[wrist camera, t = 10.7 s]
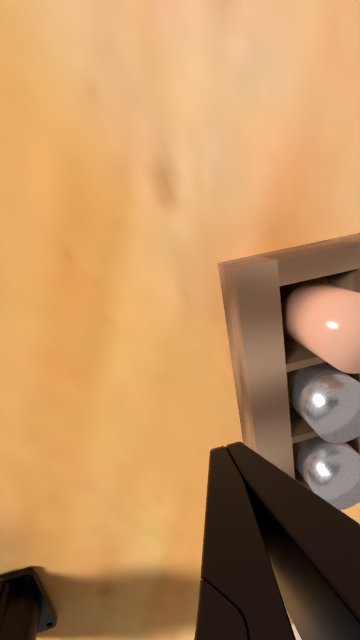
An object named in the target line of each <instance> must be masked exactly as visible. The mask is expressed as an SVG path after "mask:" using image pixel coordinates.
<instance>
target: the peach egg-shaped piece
mask: <svg viewBox="0 0 360 640" xmlns="http://www.w3.org/2000/svg"><path fill="white" fill-rule="evenodd" d="M281 312H282V324H283V331H284V332H285V333H286V335H287V336H289V337H290V338H291V339H293V340H294V341H296V342H297V343H299V344H300V345H302V346H304V347H305V348H307V349H308V350H310V351H311V352H313V353H314V354H316V355H317V356H319V357H320V358H322V359H323V360H325V361H326V362H328V363H329V364H331V365H332V366H334V367H335V368H337V369H338V370H340V371H342V372H345V373H351V374H355V373H360V293H358V292H354V291H351V290H347V289H344V288H340V287H336V286H333V285H329V284H326V283H322V282H318V281H310V282H305V283H302V284H300V285H298V286H297V287H295V288H294V289H293V290H292V291H291V292H290V293H289V294H288V295H287V296H286V298H285V299H284V301H283V304H282V306H281Z"/></svg>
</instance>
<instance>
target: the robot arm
mask: <svg viewBox="0 0 360 640" xmlns="http://www.w3.org/2000/svg"><path fill="white" fill-rule="evenodd" d="M284 604H285V605H284ZM285 606H286V608H287V610H288V612H289V614H290V616H291V618H292V621H293V623H294V625H295V627H296V629H297V631H298V633H299V635H300V637H301V639H302V640H360V524H359V523H357V522H356V521H355V520H353V519H352V518H350V517H349V516H347V515H346V514H344V513H343V512H342V511H340V510H339V509H337V508H336V507H334V506H333V505H331V504H330V503H329V502H327V501H326V500H324V499H323V498H321V497H320V496H318V495H317V494H316V493H314V492H313V491H311V490H310V489H308V488H307V487H305V486H304V485H303V484H301V483H300V482H298V481H297V480H295V479H294V478H292V477H291V476H290V475H288V474H287V473H285V472H284V471H282V470H281V469H279V468H278V467H277V466H275V465H274V464H272V463H271V462H269V461H268V460H266V459H265V458H264V457H262V456H261V455H259V454H258V453H256V452H255V451H253V450H252V449H250V448H249V447H248V446H246V445H245V444H243V443H242V442H235V443H232V444H228V445H227V446H226V447H224V446H221V447H218V448H214V449H211V451H210V458H209V471H208V485H207V498H206V512H205V525H204V539H203V552H202V566H201V580H200V589H199V602H198V612H197V621H196V631H195V638H194V640H296V639H295V636H294V633H293V630H292V627H291V624H290V621H289V617H288V614H287V611H286V608H285ZM56 622H57V616H56V614H55V612H54V610H53V608H52V605H51V603H50V601H49V599H48V597H47V595H46V593H45V591H44V589H43V587H42V585H41V583H40V581H39V579H38V576H37V574H36V572H35V571H34V570H33V569H25V570H22V571H18V572H15V573H12V574H8V575H5V576H2V577H0V640H36V636H37V633H39V632H42V631H45V630H48V629H51V628H53V627H55V626H56Z"/></svg>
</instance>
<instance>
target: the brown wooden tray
mask: <svg viewBox="0 0 360 640" xmlns="http://www.w3.org/2000/svg"><path fill="white" fill-rule="evenodd" d="M218 267H219V274H220V281H221V288H222V295H223V302H224V309H225V316H226V323H227V330H228V337H229V344H230V351H231V358H232V365H233V372H234V380H235V387H236V394H237V401H238V408H239V415H240V422H241V429H242V436H243V443H244V444H245V445H246V446H248V447H249V448H250V449H252V450H253V451H255V452H256V453H258V454H259V455H261V456H262V457H264V458H265V459H266V460H268V461H269V462H271V463H272V464H274V465H275V466H277V467H278V468H279V469H281V470H282V471H284V472H285V473H287V474H288V475H290V476H291V477H292V478H294V479H295V480H297V481H298V482H300V483H301V484H303V485H304V486H305V487H307V488H308V489H310V490H311V491H312V489H311V488H310V487H309V485H308V484H307V482H306V481H305V480H304V478H303V477H302V475H301V474H300V473H299V471H298V470H297V468H296V467H295V466H294V461H293V449H292V444H293V443H296V442H300V441H303V440H307V439H310V438H314V437H317V436H319V435H318V434H317V433H316V432H315V431H314V429H313V428H312V427H311V426H310V425H309V424H308V423H307V422H306V421H305V420H304V419H303V418H302V417H301V416H300V415H299V413H298V412H297V411H296V410H295V409H294V408H293V407H289V399H288V386H287V374H286V372H289V371H293V370H297V369H301V368H304V367H308V366H312V365H316V364H320V363H324V362H326V361H325V360H323V359H322V358H320V357H319V356H317V355H316V354H314V353H313V352H311V351H310V350H308V349H307V348H305V347H304V346H302V345H300V344H299V343H297V342H296V341H294V340H291V341H287V342H284V337H283V324H282V312H281V299H280V287H279V286H284V285H288V284H292V283H297V282H301V281H306V280H310V279H315V278H319V277H323V276H328V284H329V285H333V286H336V287H340V288H344V289H347V290H351V291H354V292H358V293H360V233H358V234H353V235H349V236H344V237H339V238H335V239H330V240H325V241H320V242H316V243H311V244H306V245H302V246H297V247H292V248H287V249H283V250H278V251H273V252H269V253H264V254H259V255H255V256H250V257H245V258H240V259H236V260H231V261H226V262H222V263H218ZM344 373H345V372H344ZM346 374H347V375H349V376H350V377H352V378H353V379H355V380H356V381H358V382H359V383H360V373H355V374H351V373H346ZM347 443H348V444H349V445H350V446H351V447H352V448H353V449H354V450H355V451H356V452H357V453H358V454H359V455H360V435H359V436H358V437H356V438H354V439H352V440H350V441H347Z"/></svg>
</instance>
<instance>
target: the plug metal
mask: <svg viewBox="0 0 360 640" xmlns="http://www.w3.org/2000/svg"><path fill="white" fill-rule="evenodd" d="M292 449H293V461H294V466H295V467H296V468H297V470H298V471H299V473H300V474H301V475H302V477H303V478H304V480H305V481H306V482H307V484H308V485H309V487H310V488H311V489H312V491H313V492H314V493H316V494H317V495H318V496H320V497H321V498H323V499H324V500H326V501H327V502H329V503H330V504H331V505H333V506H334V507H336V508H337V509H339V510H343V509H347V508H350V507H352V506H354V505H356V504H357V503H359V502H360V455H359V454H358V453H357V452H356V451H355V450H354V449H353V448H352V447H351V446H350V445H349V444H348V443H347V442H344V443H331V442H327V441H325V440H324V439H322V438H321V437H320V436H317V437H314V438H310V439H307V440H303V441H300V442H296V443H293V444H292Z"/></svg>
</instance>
